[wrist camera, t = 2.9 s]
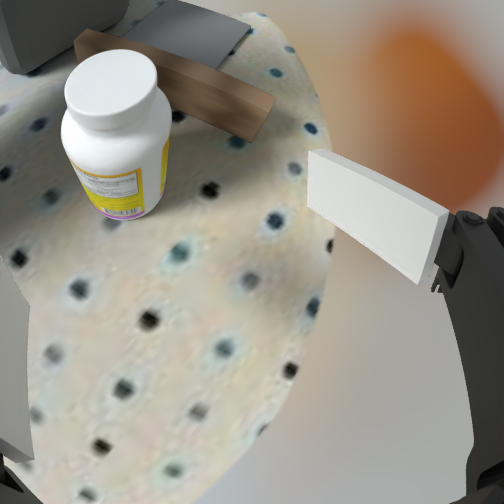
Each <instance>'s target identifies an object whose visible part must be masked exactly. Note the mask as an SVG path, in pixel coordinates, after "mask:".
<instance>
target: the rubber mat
mask: <svg viewBox="0 0 504 504" xmlns="http://www.w3.org/2000/svg"><path fill="white" fill-rule="evenodd" d="M250 28H251V25H248V24H246V23H243V22H241V21H238V20H236V19H233V18H230V17H228V16H225V15H222V14H220V13H217V12H214V11H211V10H208V9H205V8H202V7H199V6H196V5H192V4H189V3H186V2H182V1H179V0H168V1H166V2H165V3H164V4H162V5H161V6H160V7H158V8H157V9H156V10H154V11H153V12H152V13H150V14H149V15H148V16H147V17H145V18H144V19H143V20H142V21H140V22H139V23H138V24H137V25H136V26H134V27H133V28H132V29H131V30H130V31H128V32H127V33H126V34H125V35H124V36H123V37H122V38H125V39H129V40H132V41H135V42H139V43H142V44H145V45H149V46H152V47H155V48H158V49H161V50H164V51H167V52H170V53H173V54H176V55H178V56H181V57H184V58H187V59H189V60H192V61H195V62H197V63H200V64H202V65H205V66H207V67H210V68H212V69H215V70H217V68H218V67H219V66H220V64H221V63H222V62H223V61H224V59H225V58H226V57H227V56H228V54H229V53H230V52H231V51H232V50H233V48H234V47H235V46H236V45H237V44H238V42H239V41H240V40H241V39H242V38H243V37H244V35H245V34H246V33H247V32H248V31H249V30H250Z"/></svg>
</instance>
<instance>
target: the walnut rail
mask: <svg viewBox="0 0 504 504" xmlns="http://www.w3.org/2000/svg"><path fill="white" fill-rule="evenodd" d="M73 41H74V48H75V54H76V59H77V65H79V64H80V63H82V62H83V61H84V60H86V59H88V58H89V57H91V56H93V55H96V54H99V53H101V52H105V51H110V50H118V49H123V50H132V51H135V52H138V53H141V54H143V55H145V56H146V57H148V58H149V59H150V60H151V61H152V62H153V64H154V65H155V67H156V70H157V87H158V88H159V89H160V90H161V91H162V92H163V93H164V94H165V96H166V97H167V99H168V101H169V104H170V107H172V108H174V109H177V110H179V111H181V112H184V113H186V114H189V115H191V116H193V117H196V118H198V119H200V120H202V121H205V122H207V123H209V124H211V125H214V126H216V127H218V128H220V129H222V130H225V131H227V132H229V133H231V134H233V135H235V136H237V137H239V138H241V139H244V140H246V141H248V142H250V143H251V142H252V141H253V139H254V137H255V136H256V134H257V132H258V130H259V129H260V127H261V125H262V124H263V122H264V120H265V119H266V117H267V115H268V113H269V112H270V110H271V108H272V106H273V104H274V102H275V100H276V97H274V96H272V95H270V94H268V93H266V92H264V91H262V90H259V89H257V88H255V87H253V86H251V85H249V84H247V83H245V82H242V81H240V80H238V79H236V78H233V77H231V76H229V75H227V74H224V73H222V72H219V71H217V70H215V69H212V68H210V67H207V66H205V65H202V64H200V63H197V62H195V61H192V60H189V59H187V58H184V57H181V56H178V55H176V54H173V53H170V52H167V51H164V50H161V49H158V48H155V47H152V46H149V45H145V44H142V43H139V42H135V41H132V40H129V39H125V38H121V37H118V36H114V35H110V34H106V33H102V32H98V31H93V30H89V29H86V30H85V31H84V32H82V33H81V34H80V35H79V36H78V37H77V38H76V39H74V40H73Z"/></svg>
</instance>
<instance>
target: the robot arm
mask: <svg viewBox="0 0 504 504" xmlns="http://www.w3.org/2000/svg"><path fill="white" fill-rule="evenodd" d="M307 206H308V207H309V208H311V209H312V210H314V211H315V212H317V213H318V214H320V215H321V216H323V217H324V218H326V219H327V220H329V221H330V222H332V223H333V224H335V225H336V226H337V227H339V228H340V229H342V230H343V231H345V232H346V233H348V234H349V235H350V236H352V237H353V238H355V239H356V240H357V241H359V242H361V243H362V244H363V245H364V246H366V247H367V248H369V249H370V250H371V251H373V252H374V253H376V254H377V255H378V256H380V257H381V258H382V259H384V260H385V261H386V262H388V263H389V264H390V265H392V266H393V267H394V268H396V269H397V270H399V271H400V272H401V273H402V274H404V275H405V276H406V277H408V278H409V279H410V280H412V281H413V282H414V283H415V284H417V285H419V284H420V283H421V282H423V281H424V280H425V279H427V278H428V277H429V276H430V273H431V270H432V267H433V264H434V263H435V264H436V265H438V266H439V269H438V272H437V274H436V277H435V280H434V282H433V285H432V287H431V292H434V291H435V289H436V286H437V285H439V284H440V287H439V289H438V293H443V295H444V298H445V301H446V304H447V307H448V311H449V314H450V318H451V321H452V325H453V329H454V332H455V336H456V340H457V344H458V348H459V352H460V356H461V361H462V365H463V370H464V375H465V380H466V385H467V391H468V397H469V403H470V410H471V417H472V424H473V432H474V446H473V448H472V450H471V453H470V455H469V457H468V460H467V465H466V496H465V497H463V498H461V499H460V500H458V501H456V502H452V503H450V504H504V208H501V207H491V208H490V210H489V214H488V217H487V219H483V218H482V217H481V216H479V215H477V214H475V213H472V212H469V211H459V212H457V214H456V216H455V215H453V214H451V213H450V211H449V210H447V209H446V208H444V207H442V206H441V205H439V204H437V203H435V202H433V201H431V200H430V199H428V198H426V197H424V196H422V195H421V194H418V193H417V192H415V191H413V190H411V189H409V188H407V187H405V186H403V185H401V184H399V183H397V182H395V181H393V180H391V179H389V178H387V177H385V176H383V175H381V174H379V173H377V172H375V171H373V170H371V169H368V168H366V167H364V166H362V165H360V164H358V163H355V162H353V161H351V160H349V159H346V158H344V157H342V156H339V155H337V154H335V153H332V152H330V151H328V150H325V149H323V148H319V149H314V150H309V151H308V194H307ZM29 312H30V305H29V304H28V302H27V301H26V299H25V297H24V296H23V294H22V292H21V291H20V289H19V287H18V286H17V284H16V282H15V281H14V279H13V277H12V275H11V274H10V272H9V270H8V268H7V266H6V264H5V263H4V261H3V259H2V257H1V255H0V504H43V503H42V502H41V501H40V500H39V499H38V498H37V497H36V496H35V495H34V494H33V493H32V492H31V491H30V490H29V489H28V488H27V487H26V486H25V485H24V484H23V483H22V481H21V480H20V479H19V478H18V477H17V476H16V475H15V474H14V472H13V471H12V470H11V469H9V468H8V467H7V466H5V465H4V461H3V456H5V457H7V458H8V459H10V460H12V461H13V462H15V463H19V462H25V461H30V460H35V459H34V452H33V445H32V438H31V429H30V419H29V406H28V387H27V346H28V326H29Z"/></svg>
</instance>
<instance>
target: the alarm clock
mask: <svg viewBox="0 0 504 504" xmlns="http://www.w3.org/2000/svg"><path fill="white" fill-rule="evenodd" d="M128 5H129V0H0V61H1V63H2V65H3V66H4V67H5V68H6V69H7V70H8V71H9V72H11V73H12V74H22V75H23V74H26V73H28V72H30V71H33V70H34V69H36V68H37V67H39V66H40V65H42V64H43V63H45V62H47V61H48V60H50V59H51V58H53V57H55V56H56V55H58V54H60V53H61V52H63V51H65V50H66V49H68V48H70V47H72V46H74V41H73V40H74V39H76V38H77V37H78V36H79V35H80V34H81V33H82V32H84V31H85V30H86V29H89V30H93V31H98V32H101V31H103V30H105V29H107V28H109V27H111V26H112V25H114V24H115V23H117V22H118V21H119V20H121V19H122V18H123V17H124V15H125V13H126V11H127V8H128Z"/></svg>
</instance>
